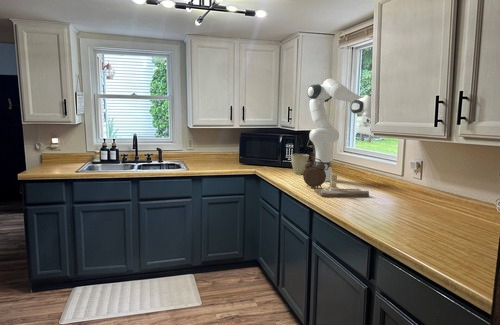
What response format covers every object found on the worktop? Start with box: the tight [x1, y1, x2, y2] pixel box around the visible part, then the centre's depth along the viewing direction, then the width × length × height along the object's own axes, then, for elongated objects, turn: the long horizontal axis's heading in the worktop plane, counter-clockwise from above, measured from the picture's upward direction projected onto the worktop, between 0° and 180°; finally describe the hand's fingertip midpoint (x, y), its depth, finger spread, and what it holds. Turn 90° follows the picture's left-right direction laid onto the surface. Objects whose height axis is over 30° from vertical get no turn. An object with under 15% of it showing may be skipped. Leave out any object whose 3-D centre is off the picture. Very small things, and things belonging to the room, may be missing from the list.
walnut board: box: [313, 188, 370, 198], centre depth 218 cm, size 14×30×4 cm, turn 99°
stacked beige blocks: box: [326, 173, 340, 191], centre depth 215 cm, size 6×5×11 cm
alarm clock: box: [302, 157, 326, 189], centre depth 234 cm, size 15×7×20 cm, turn 53°
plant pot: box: [290, 153, 310, 175], centre depth 289 cm, size 15×15×16 cm
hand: (365, 141), depth 228 cm, fingers open, 8 cm apart
